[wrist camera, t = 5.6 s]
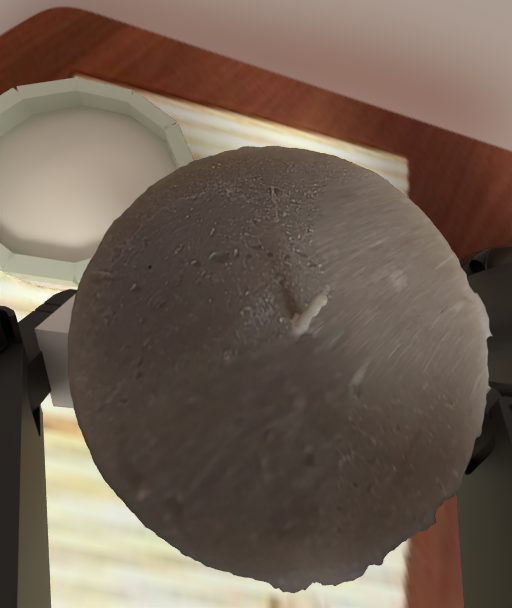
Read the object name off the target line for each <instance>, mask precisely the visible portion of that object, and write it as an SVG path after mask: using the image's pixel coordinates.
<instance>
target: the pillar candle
mask: <svg viewBox="0 0 512 608" xmlns="http://www.w3.org/2000/svg"><path fill="white" fill-rule="evenodd" d="M489 336H492V335H491V332H490V329H489V317H488V315H487V312H486V309H485V306H484V304H483V302H482V300H481V299H480V297H479V295H478V294H477V293H474V292H473V291H472V289H471V288H470V286H469V283H468V280H467V274H466V273H465V272H464V270H463V269H462V268H461V266H460V263H459V259H458V258H457V256H456V254H455V253H454V252H453V251H452V250H451V248H450V246H449V244H448V242H447V241H446V240H445V238H444V237H443V236H442V234H441V233H440V231H439V230H438V229H437V228H436V227H435V226H434V224H433V223H432V221H431V220H430V219H429V218H428V217H427V216H426V215H425V213H424V212H423V211H422V210H421V209H420V208H419V207H418V206H417V205H415V204H414V203H413V202H412V201H411V200H410V199H409V198H407V197H406V196H405V195H404V194H403V193H401V192H400V191H399V190H398V189H396V188H395V187H394V186H393V185H392V184H390V183H389V182H388V181H387V180H385V179H384V178H382V177H381V176H380V175H378V174H376V173H375V172H373V171H371V170H368V169H365V168H363V167H360V166H358V165H356V164H353V163H352V162H349V161H347V160H345V159H341V158H339V157H337V156H334V155H329V154H325V153H319V152H315V151H310V150H305V149H297V148H286V147H280V146H266V147H249V146H247V147H246V146H245V147H241V148H240V149H238V150H230V151H225V152H222V153H219V154H217V155H214V156H209V157H207V158H203V159H200V160H196V161H192V162H189V164H188V165H186V166H182V167H180V168H178V169H177V170H175V171H174V172H172V173H171V174H169V175H167V176H166V177H164V178H162V179H160V180H158V181H157V182H156V183H155V184H153V185H152V186H150V187H148V189H147V190H146V191H145V192H144V193H143V194H141V195H140V196H139V197H138V198H137V199H136V200H135V201H134V202H133V203H132V205H131V206H130V207H129V208H127V209H126V210H125V211H124V212H123V213H122V215H121V216H120V217H118V218H117V219H115V220H114V221H113V223H112V225H111V226H110V227H109V229H108V230H107V231H106V233H105V235H104V237H103V239H102V241H101V242H100V244H99V246H98V249H97V251H96V253H95V254H94V256H93V257H92V259H91V260H90V262H89V263H88V265H87V268H86V269H85V271H84V272H83V276H82V277H81V280H80V283H79V285H78V289H77V292H76V295H75V299H74V304H73V308H72V313H71V322H70V327H69V333H68V379H69V387H70V394H71V397H72V401H73V407H74V410H75V414H76V418H77V421H78V425H79V427H80V429H81V431H82V434H83V437H84V439H85V442H86V444H87V446H88V448H89V450H90V453H91V455H92V458H93V461H94V463H95V465H96V466H97V468H98V470H99V472H100V473H101V475H102V477H103V479H104V480H105V481H106V483H107V484H108V485H109V486H110V487H111V489H113V490H114V492H115V493H116V495H117V496H118V497H119V498H120V499H121V500H122V501H123V502H124V503H125V504H126V506H127V507H128V508H129V509H130V510H131V512H132V513H134V514H135V515H136V516H137V518H138V519H139V520H140V521H141V522H142V523H143V524H144V526H145V527H146V528H149V529H150V530H152V531H153V532H155V534H156V535H157V536H158V537H160V538H162V539H164V540H165V541H166V542H168V543H169V544H170V545H171V546H173V547H175V548H176V549H178V550H179V551H180V552H181V553H182V554H183V555H185V556H189V557H191V558H192V559H194V560H195V561H199V562H201V563H202V564H204V565H205V566H207V567H211V568H214V569H217V570H221V571H225V572H230V573H232V574H233V575H236V576H241V577H247V578H253V579H255V580H259V581H264V582H267V583H270V584H271V585H272V586H273V587H274V588H276V589H277V588H280V590H281V591H282V592H291V593H295V592H298V591H300V590H302V589H303V590H306V589H307V588H308V587H309V586H310V585H311V584H312V583H315V582H318V583H321V584H322V585H334V586H336V585H338V584H341V583H343V582H348V581H353V580H355V579H356V578H358V577H361V576H362V575H363V574H364V572H365V571H366V569H367V567H368V566H369V565H374V564H375V565H382V563H383V559H384V558H385V556H386V555H387V554H388V553H389V552H390V551H392V550H394V549H395V548H396V547H398V546H399V545H400V544H401V543H402V542H404V541H406V540H407V539H408V538H411V537H413V536H414V535H416V534H417V533H418V532H420V531H424V530H427V529H428V528H429V526H430V525H433V524H435V523H436V519H435V512H436V510H437V509H438V507H439V506H441V505H442V503H443V502H444V501H445V500H446V499H449V498H451V497H452V496H453V495H454V494H455V493H456V492H457V490H458V489H459V488H460V487H461V485H462V477H463V474H464V472H465V470H466V468H467V465H468V463H469V461H470V459H471V456H472V452H473V449H474V443H475V439H476V438H477V437H479V436H480V435H481V432H482V423H483V419H484V409H485V407H486V403H487V402H486V394H487V388H488V378H489V373H488V366H487V356H488V349H487V342H486V340H487V338H488V337H489Z"/></svg>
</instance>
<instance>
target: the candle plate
mask: <svg viewBox="0 0 512 608" xmlns="http://www.w3.org/2000/svg"><path fill="white" fill-rule="evenodd" d="M17 89H18V91H16V90H15V89H14V88H11V89H10V90H8V91H7V92H5V93H3V94H2V95H0V271H2V272H4V273H6V274H8V275H10V276H13V277H15V278H18V279H20V280H22V281H24V282H27V283H30V284H33V285H36V286H39V287H44V288H49V289H53V290H63V291H65V290H68V289H75V290H77V289H78V285H79V283H80V280H81V277H82V276H83V272H84V271H85V269H86V268H87V265H88V263H89V262H90V260H91V259H92V257H93V256H94V254H95V253H96V251H97V249H98V246H99V244H100V242H101V241H102V239H103V237H104V235H105V233H106V231H107V230H108V229H109V227H110V226H111V225H112V223H113V221H114V220H115V219H117V218H118V217H120V216H121V215H122V213H123V212H124V211H125V210H126V209H127V208H129V207H130V206H131V205H132V203H133V202H134V201H135V200H136V199H137V198H138V197H139V196H140V195H141V194H143V193H144V192H145V191H146V190H147V189H148V187H150V186H152V185H153V184H155V183H156V182H157V181H158V180H160V179H162V178H164V177H166V176H167V175H169V174H171V173H172V172H174V171H175V170H177V169H178V168H180V167H182V166H186V165H188V164H189V162H192V161H194V159H193V157H192V155H191V152H190V150H189V148H188V145H187V143H186V141H185V138H184V136H183V134H182V131H181V129H180V127H179V125H178V124H176V121H175V120H174V119H172V118H171V117H170V116H168V115H167V114H165V113H164V112H163V111H161V110H160V109H159V108H157V107H156V106H155V105H153V104H152V103H151V102H149V101H148V100H147V99H145V98H144V97H143V96H141V95H140V94H139V93H137V92H135V93H133V90H130V89H126V88H121V87H117V86H112V85H108V84H104V83H99V82H95V81H90V80H86V79H82V78H78V81H77V82H76V79H75V78H69V79H63V80H56V81H49V82H43V83H36V84H29V85H23V86H17Z"/></svg>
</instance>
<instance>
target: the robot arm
mask: <svg viewBox="0 0 512 608" xmlns="http://www.w3.org/2000/svg"><path fill="white" fill-rule="evenodd" d="M459 263H460V266H461V268H462V269H463V270H464V272H465V273H466V274H467V280H468V283H469V286H470V288H471V289H472V291H473V292H474V293H477V294H478V295H479V297H480V299H481V300H482V302H483V304H484V306H485V309H486V312H487V315H488V317H489V329H490V332H491V335H492V336H489V337H488V338H487V340H486V342H487V349H488V356H487V366H488V373H489V378H488V388H487V394H486V402H487V403H486V407H485V409H484V419H483V423H482V432H481V435H480V436H479V437H477V438H476V439H475V443H474V449H473V452H472V456H471V459H470V461H469V463H468V465H467V468H466V470H465V472H464V474H463V477H462V485H461V487H460V488H459V489H458V490H457V492H456V495H457V510H458V525H459V540H460V555H461V569H462V584H463V599H464V608H512V244H509V245H502V246H496V247H491V248H487V249H484V250H481V251H478V252H476V253H473V254H471V255H469V256H467V257H465V258H463V259H461V260H459ZM76 292H77V290H75V289H68V290H65V291H62V292H60V293H57V294H55V295H53V296H52V297H51V298H49V299H48V300H47V301H45V302H44V304H42V305H40V306H39V307H38V308H36V309H35V311H32V312H31V313H30V314H29V315H27V316H26V317H25V318H23V319H22V320H21V321H19V322H17V318H16V315H15V313H14V311H13V310H12V309H10V308H8V307H5V306H0V608H51V593H50V570H49V547H48V524H47V501H46V478H45V455H44V432H43V412H42V409H41V405H40V404H41V403H42V402H43V400H44V399H45V398H46V397H47V395H48V394H49V393H50V394H51V398H52V402H53V406H58V407H68V408H74V407H73V401H72V397H71V394H70V387H69V379H68V333H69V327H70V322H71V313H72V308H73V304H74V299H75V295H76Z"/></svg>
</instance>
